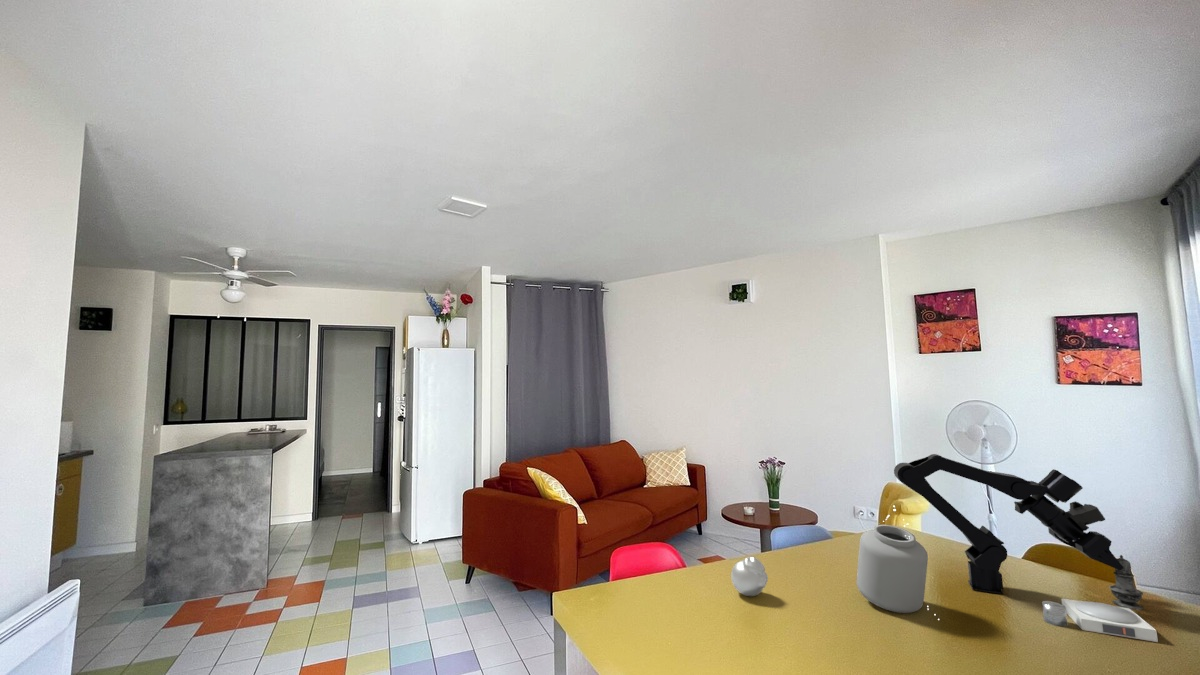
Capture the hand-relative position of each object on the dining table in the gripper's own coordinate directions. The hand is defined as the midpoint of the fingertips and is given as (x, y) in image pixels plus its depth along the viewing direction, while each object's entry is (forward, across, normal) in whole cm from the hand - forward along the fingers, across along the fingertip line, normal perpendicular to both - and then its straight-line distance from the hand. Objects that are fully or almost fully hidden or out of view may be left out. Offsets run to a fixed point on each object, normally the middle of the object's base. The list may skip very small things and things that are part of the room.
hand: (1110, 562), depth 123 cm
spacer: (-6, -18, +20) cm, 28 cm away
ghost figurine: (-54, -27, +67) cm, 91 cm away
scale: (+1, -15, +13) cm, 20 cm away
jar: (-30, -22, +43) cm, 57 cm away
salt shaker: (+9, 0, +6) cm, 10 cm away
